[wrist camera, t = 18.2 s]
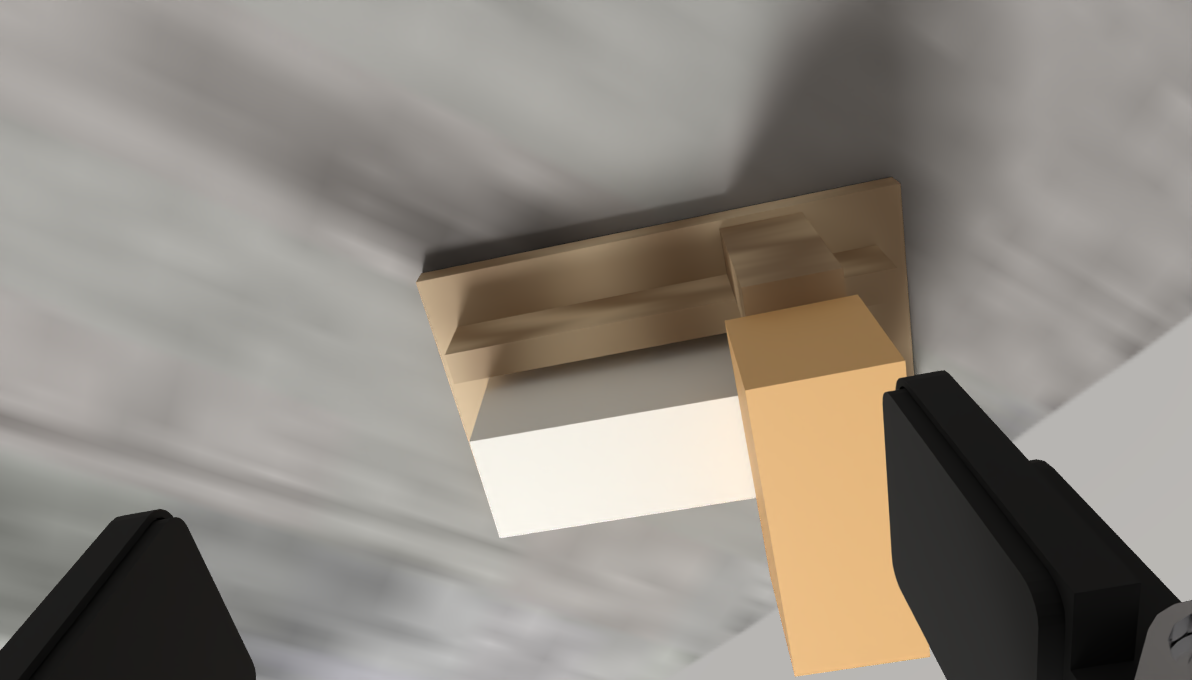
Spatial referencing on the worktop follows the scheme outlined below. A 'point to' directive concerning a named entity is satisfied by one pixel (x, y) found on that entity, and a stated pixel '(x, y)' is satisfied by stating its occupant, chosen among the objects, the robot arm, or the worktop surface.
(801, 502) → the light orange rectangular block
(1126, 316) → the worktop surface
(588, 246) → the cradle
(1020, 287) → the worktop surface
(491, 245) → the worktop surface
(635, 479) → the white rectangular block
